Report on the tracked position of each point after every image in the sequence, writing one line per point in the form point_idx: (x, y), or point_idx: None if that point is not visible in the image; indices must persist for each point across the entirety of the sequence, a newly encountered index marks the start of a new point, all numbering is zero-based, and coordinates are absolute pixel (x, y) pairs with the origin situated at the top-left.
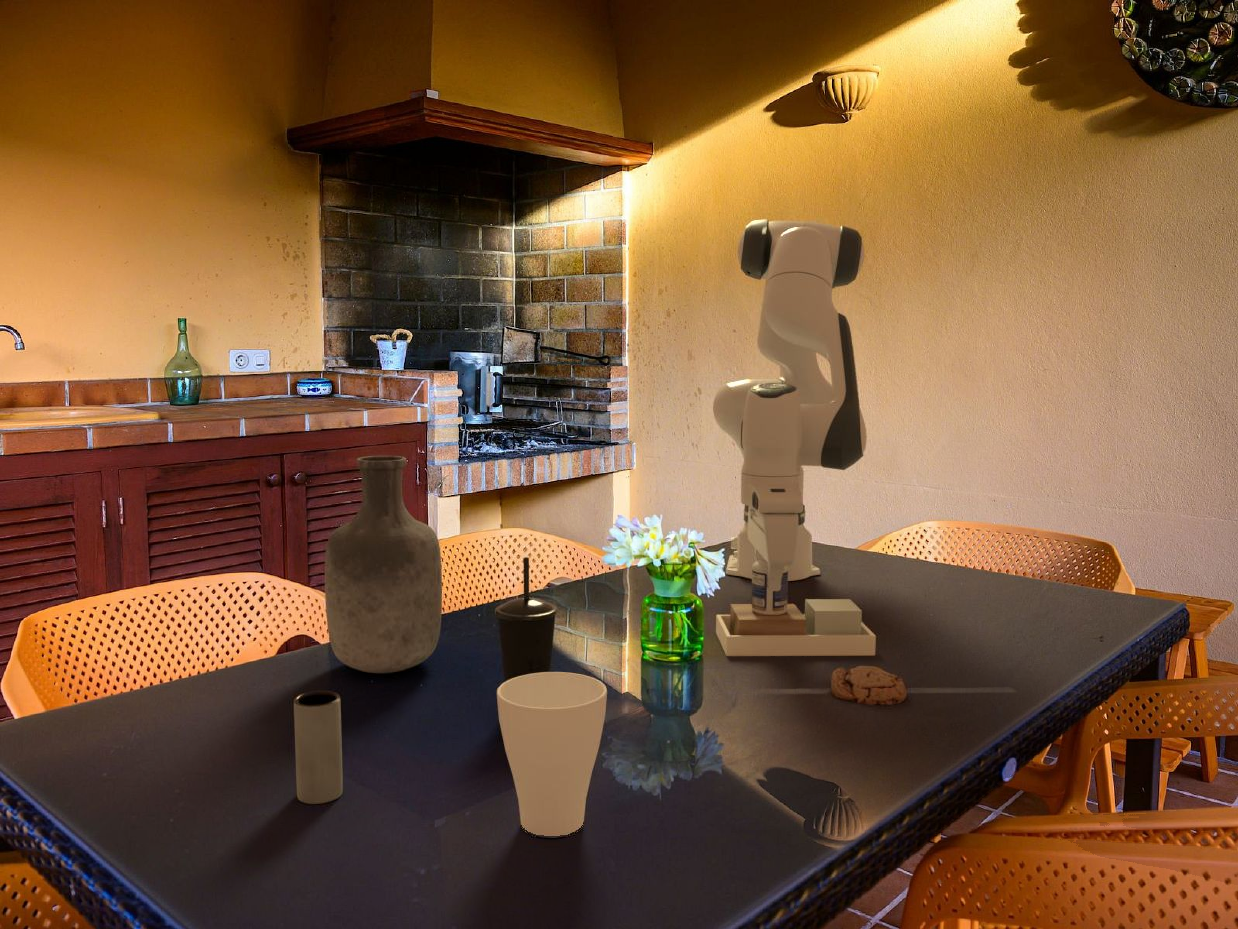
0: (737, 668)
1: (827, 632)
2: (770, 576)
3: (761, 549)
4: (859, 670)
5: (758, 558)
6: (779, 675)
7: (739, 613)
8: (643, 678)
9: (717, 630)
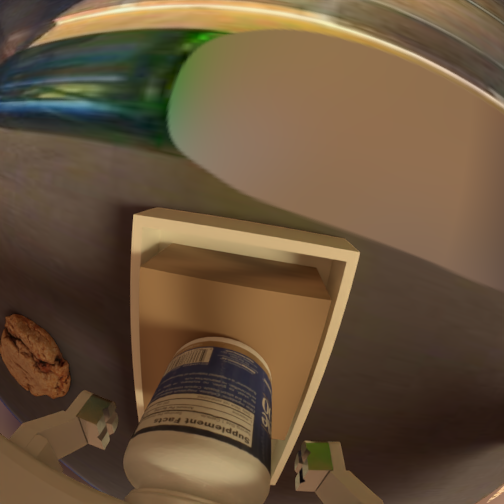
0: (106, 215)
1: None
2: (52, 417)
3: (40, 493)
4: (26, 366)
5: (341, 490)
6: (73, 279)
7: (208, 291)
8: (94, 37)
9: (321, 238)
